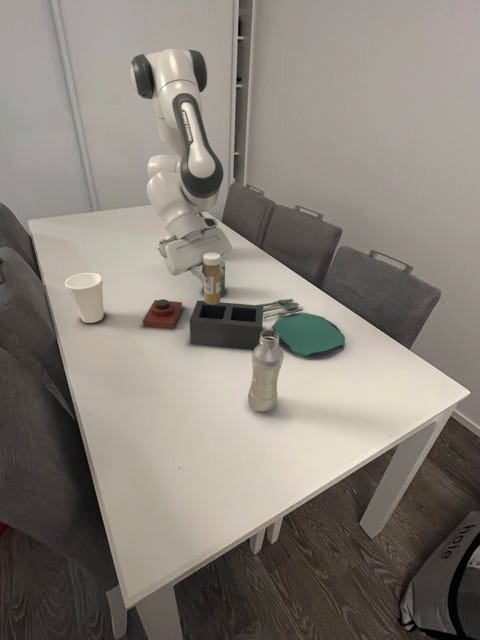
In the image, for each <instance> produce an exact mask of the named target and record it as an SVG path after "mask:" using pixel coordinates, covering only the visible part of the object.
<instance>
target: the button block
mask: <svg viewBox="0 0 480 640" xmlns="http://www.w3.org/2000/svg"><path fill="white" fill-rule="evenodd" d="M158 300H159V299H154V301H153V302H152V304H151V305H150V307H149V309H148V311H147V313H146V314H145V316H144V318H143V319H142V325H143V327H145V328H157V329H167V330H168V329H169V330H173V329H174V328H175V326H176V324H177V321H178V319H179V316H180V314H181V312H182V310H183V302H182V301H174V300H173V301H172V300H167V301H168V304H169V308H167V309H164V310H159V309H157V305H156V302H157V301H158Z"/></svg>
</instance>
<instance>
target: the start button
mask: <svg viewBox="0 0 480 640" xmlns="http://www.w3.org/2000/svg"><path fill="white" fill-rule="evenodd" d="M157 300H158V301H157V302H156V305H157V309H159V310H164V309H167V308H169V304H168V301H169V300H167V299H164V298H163V299H162V298H161V299H157Z"/></svg>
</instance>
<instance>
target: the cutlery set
mask: <svg viewBox="0 0 480 640" xmlns="http://www.w3.org/2000/svg"><path fill="white" fill-rule="evenodd" d="M277 304H278V305H283V306H280V307H271V308H265V309H264V308H263V313H266V312H270V311H276V310H283V309H286V310H289V311H279V312H278V313H274V314H271V315H266V316H265V315H264V316H263V320H265V319H268V318H272V317H277V316H279V317H280V316H283V317H280V318H277V319H276V320H275V322H274V324H272V329H273V330H274V331H276V332H277V333H278V334H279V343H281V344H282V345H283V346H284V347H286V348H287V349H289V350H292V353H293V354H296V355H301V356H304V357H307V356H309V355H311V356H320V355H327V354H330V353H333V352H335V351H337V350H338V349H339V348H340V347H344V344H345V342H346V337H345V335H344V334H343V332H342V331H341V330H340V329H339V327H338V326H337V325H336V324H335V323H333V322H332V321H330V320H328V319H327V318H326V317H324V316H321V315H317V314H314V313H308V312H307V313H306V312H303V311H304V308H299V309H296V308H297V307H299V305H300V303H298V302H295V300H294V299H293V298H288V299H278V300H276V301H272V302H268V303H260V304H258V305H259V306H264V307H269V306H274V305H277ZM298 312H299V313H298ZM300 312H303V313H300ZM285 315H286V316H285Z"/></svg>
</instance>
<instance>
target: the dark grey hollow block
mask: <svg viewBox="0 0 480 640" xmlns="http://www.w3.org/2000/svg"><path fill="white" fill-rule="evenodd" d="M264 308H265V306H259V304H246V303H245V304H244V303H235V302H221V301H220V302H219V303H217V304H213V305H211V304H207V303H205V301H204V300H199V299H198V300H196V303H195V306H194V308H193V310H192V313H191V316H190V319H189V337H190V339H189V340H190V345H194V346H195V345H196V346H208V347H217V348H230V349H239V350H243V349H244V350H252V351H253V350H254V348H255V347H256V346H257V345H258V344H259V343H260V342H259V340H260V334H261V332H262V331H263V326H264V325H263V324H264V312H263V310H264Z"/></svg>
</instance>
